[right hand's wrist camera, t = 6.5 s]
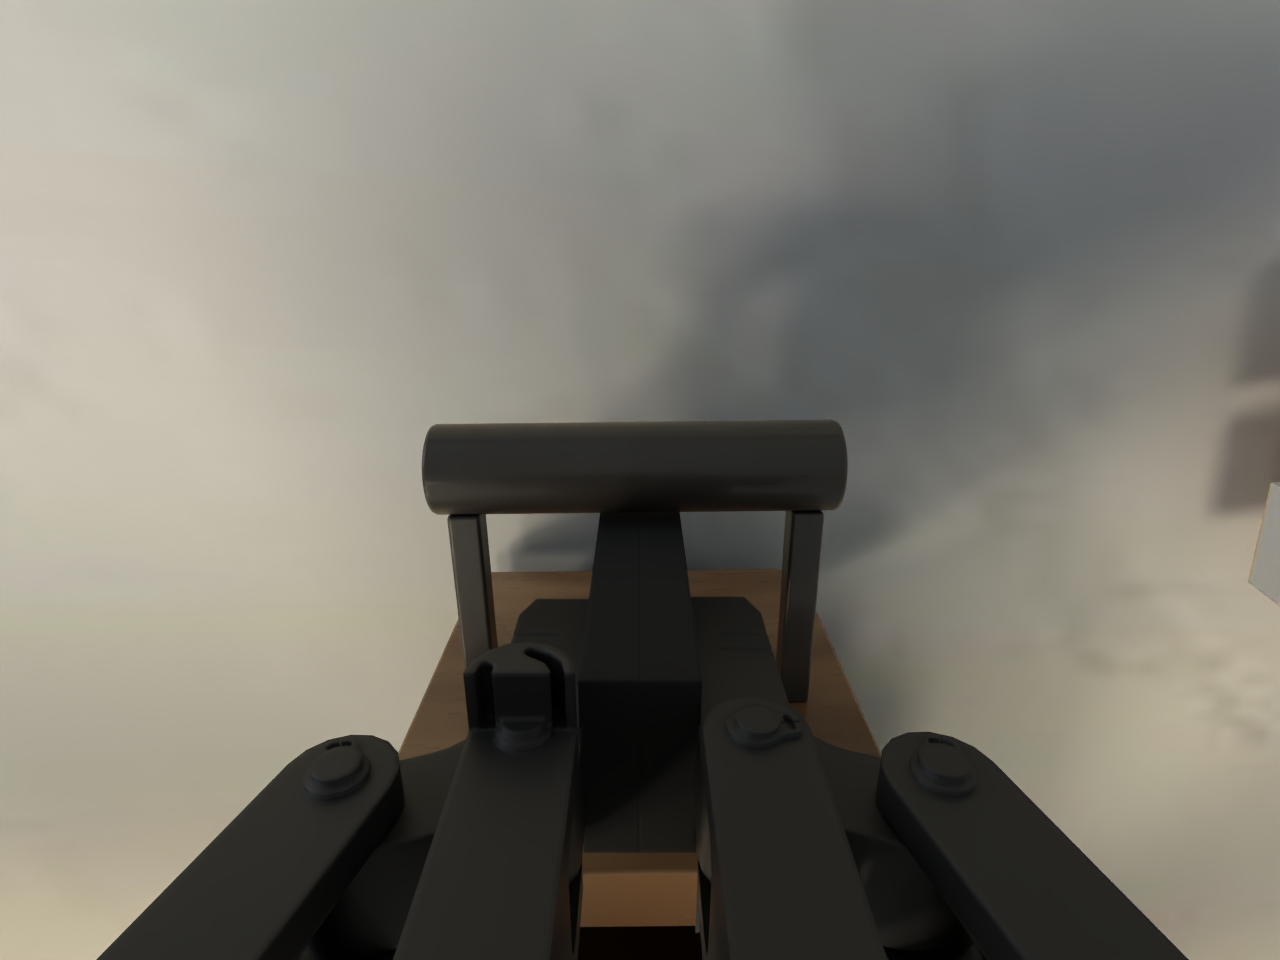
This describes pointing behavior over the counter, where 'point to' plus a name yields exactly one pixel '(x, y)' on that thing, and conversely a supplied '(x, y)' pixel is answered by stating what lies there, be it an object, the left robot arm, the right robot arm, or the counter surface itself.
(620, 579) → the right robot arm
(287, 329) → the counter surface
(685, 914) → the drawer
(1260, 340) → the counter surface
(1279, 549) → the toy
